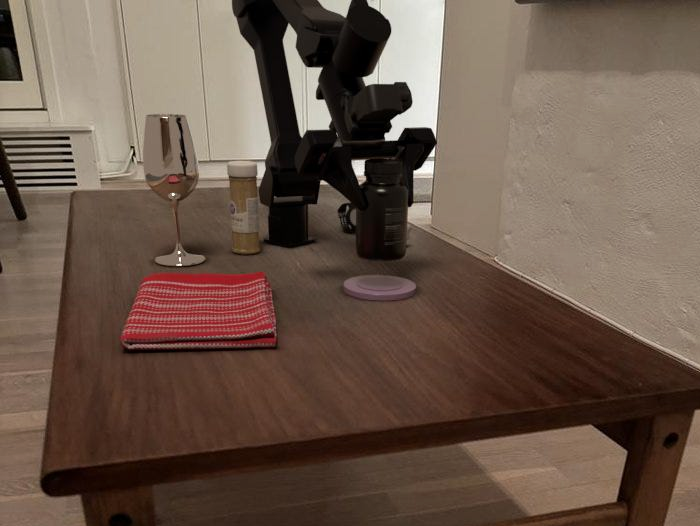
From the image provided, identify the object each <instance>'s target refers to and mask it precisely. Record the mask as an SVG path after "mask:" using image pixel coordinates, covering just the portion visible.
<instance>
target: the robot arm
mask: <svg viewBox="0 0 700 526" xmlns="http://www.w3.org/2000/svg"><path fill="white" fill-rule="evenodd" d="M231 9H232V14H233V16H234V17H235V18H236V22H237V26H238V29H239V33H240V36H241V37H243V39H244V40H245V42H246V43H247V44H248V45H249V46H250V48H251V49H252V50H253V53H254V54H253V55H254V59H255V63H256V64H255V65H256V70H257V74H258V80H259V85H260V91H261V96H262V102H263V107H264V112H265V117H266V123H267V129H268V133H269V134H268V135H269V139H270V146H269V149H268V152H267V154H266V157H265V160H264V169H265V170H264V172H263V175H262V179H261V182H260V184H259V187H258V189H257V192H258V199H259V203H260V204H262V205H264V206H266V207H268V214H267V229H268V230H267V231H268V236H267V237H264V238H263V239H262V240H263V242H265V243H270V244H274V245H277V246H278V245H279V246H282V247H287V248H293V247H297V246H302V245H307V244H309V243H314V242H316V238H315V237H310V236H309V205H314V206H315V205H318V201H319V195H320V193H319V192H320V189H321V182H322V181H323V182H325V183H327V184H328V185H329V186H330V187H332V188H333V189H334V190H336V191H337V192H338V193H340V194H341V195H342V196H343V197H344V198H345V199H346V200H348V202H349V203H352V204H353V205H354V206H355V207H357V208H358V209H359V210H360V211H364V209H365V207H366V204H365V200H364V196H363V193H362V190H361V188H360V183H359V180H358V177H357V175H356V172H355V169H354V166H353V161H357V160H359V161H360V160H368V159H396V160H400V161H402V177H400V181H401V182H402V183H403V184H404V185H405V186H406V187H407V189H408V192H409V197H408V208H411V207H412V206H413V205H414V176H415V175H414V173H415V171H418V170H420V169H422V167H423V165H424V164H425V162H426V161H427V159H428V158H429V156H430V155H431V153H432V152H433V150H434V149H435V148H436V146H437V144H438V141H437V138H436V136H435V133H434V131H433V129H432V128H431V127H428V126H419V127H415V126H414V127H404V128H403V130H402V131H401V133H400V134H399V137H398V138H397V139H396V140H386V137H385V135H386V134H389V133H390V132H391V130H392V128H393V124H392V122H391V121H392V120H394V119H395V118H396V117H397V116H398V115H399V116H401V115H402V114H405V113H406V112H408V110H409V109H411V108H412V106H413V95H412V91H411V89H410V87H409V85H408V82H407V81H395V82H393V83H371V84H368V85H366V83H365V80H364V78H367V77H369V76H371V75H372V74H373V73H374V72H375V69H376V67H377V65H378V63H379V61H380V58H381V56H382V55H383V52H384V50H385V48H386V46H387V43H388V41H389V39H390V37H391V34H392V24H391V22H390V20H389V19H388V18H386V16H385V15H384V14H383V13H382V12H381V11H379V10H378V9H376V8H374V7H372V6H370V4H369V2H368V0H350V3H349V6H348V9H347V13H346V16H344V15H342V14H341V13H338V12H336V11H332V10H330V9H327V8H326V7H324V6H323V5H322V4H321V2H320V1H319V0H231ZM289 25H290V27H291V28H292V30H293V31H294V33H295V34H296V41H295V49H296V51H297V53H298V56H299V59H300V60H301V62H302V63H303V65H304V66H305V67H306V68H315V69H317V68H319V69H320V68H321V70H320V72H319V76H318V78H317V87H316V90H315V99H316V100H317V101H324V102H325V105H326V108H327V110H328V113H329V116H330V119H331V120H330V123H329V124H328V129H306V130H305V132H304V134H303V135H301V132H300V127H299V121H298V116H297V112H296V106H295V100H294V93H293V90H292V83H291V79H290V78H291V77H290V73H289V67H288V61H287V56H286V51H285V46H284V39H285V38H284V37H285V36H286V33H287V30H288V27H289Z"/></svg>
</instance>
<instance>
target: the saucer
mask: <svg viewBox="0 0 700 526" xmlns="http://www.w3.org/2000/svg"><path fill="white" fill-rule="evenodd" d="M342 288H343V289H342V290H343V292H344V293H345V294H346V295H348V296H350V297H353V298H357V299H360V300H367V301H378V302H383V301H384V302H386V301H388V302H389V301H399V300H404V299H409V298H410V297H413V296H415V294H416V293H417V285H416V283H415V282H414V281H412V280H410V279H409V278H408V279H407V278H405V277H400V276H396V275H386V274H365V275H358V276H353V277H350V278H347V279H346V280H344V281H343V286H342Z"/></svg>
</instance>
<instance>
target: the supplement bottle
mask: <svg viewBox="0 0 700 526" xmlns="http://www.w3.org/2000/svg"><path fill="white" fill-rule="evenodd" d="M363 165H364V168H363V170H364V171H363V176H364V177H365V180H364V181H362V182H361V183H359V185H360V188H361V190H362V193H363V196H364V200H365V204H366V207H365V209H364V211H360V210H359V209H358V208H357V207H356V231H355V254H356V256H357V257H358V258H359V259H362V260H365V261H369V262H379V263H383V262H384V263H385V262H386V263H387V262H396V261H399V260H403V259H404V257H405V256H406V253H407V242H408V240H407V224H408V216H409V207H408V197H409V192H408V189H407V187H406V186H405V185H404V184H403V183H402V182H401V181H400V177H402V161H400V160H396V159H389V158H384V159H364V164H363Z"/></svg>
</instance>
